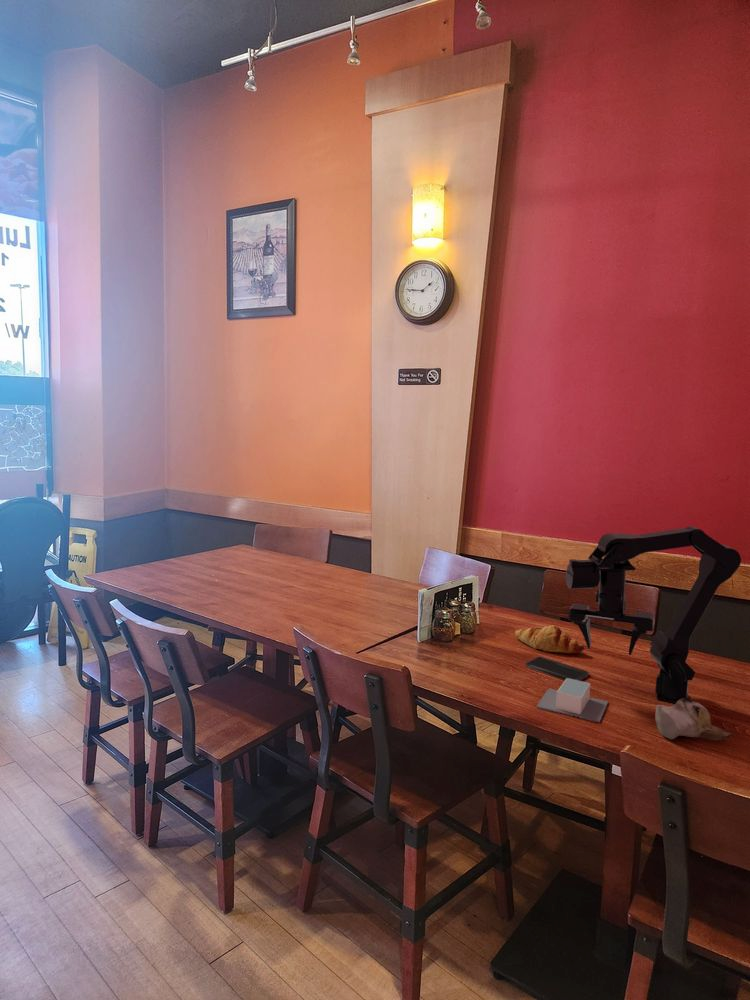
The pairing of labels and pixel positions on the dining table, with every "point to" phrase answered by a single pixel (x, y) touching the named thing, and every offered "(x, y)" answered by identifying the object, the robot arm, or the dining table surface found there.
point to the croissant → (549, 639)
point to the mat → (590, 712)
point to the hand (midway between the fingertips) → (609, 651)
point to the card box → (573, 696)
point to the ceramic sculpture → (687, 721)
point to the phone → (557, 669)
